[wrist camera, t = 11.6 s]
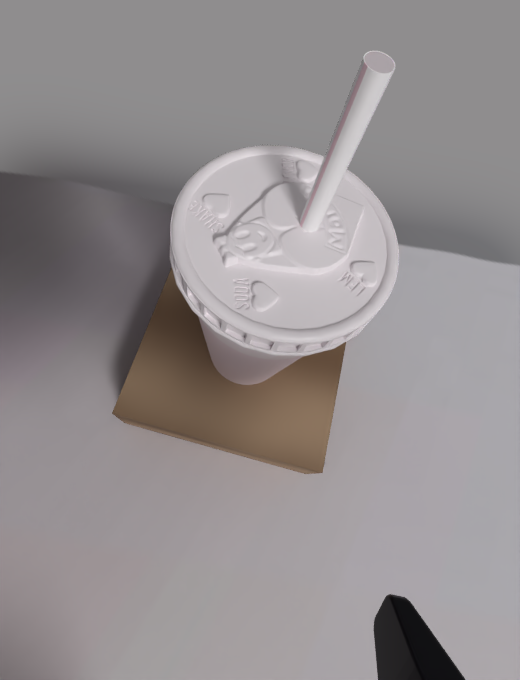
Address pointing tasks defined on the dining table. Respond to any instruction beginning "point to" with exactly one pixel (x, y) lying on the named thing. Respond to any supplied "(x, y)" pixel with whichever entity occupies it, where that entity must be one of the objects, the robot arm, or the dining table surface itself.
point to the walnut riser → (228, 394)
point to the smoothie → (286, 245)
